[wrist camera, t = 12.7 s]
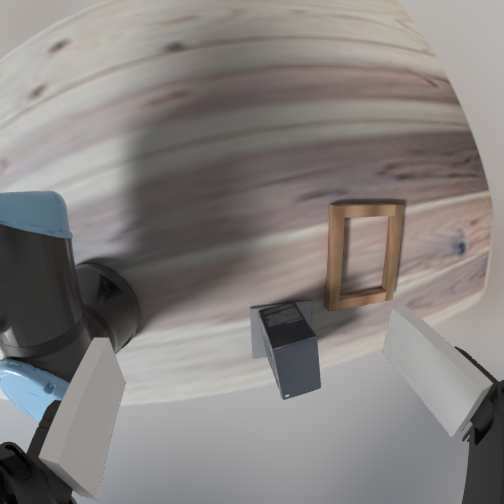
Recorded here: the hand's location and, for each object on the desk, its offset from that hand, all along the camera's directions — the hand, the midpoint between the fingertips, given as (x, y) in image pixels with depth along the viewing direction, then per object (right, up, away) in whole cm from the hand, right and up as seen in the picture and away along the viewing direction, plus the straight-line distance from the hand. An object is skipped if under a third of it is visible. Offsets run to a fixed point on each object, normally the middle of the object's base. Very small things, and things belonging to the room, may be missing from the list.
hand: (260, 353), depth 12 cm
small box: (+5, -9, +33) cm, 35 cm away
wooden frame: (+18, +4, +32) cm, 37 cm away
